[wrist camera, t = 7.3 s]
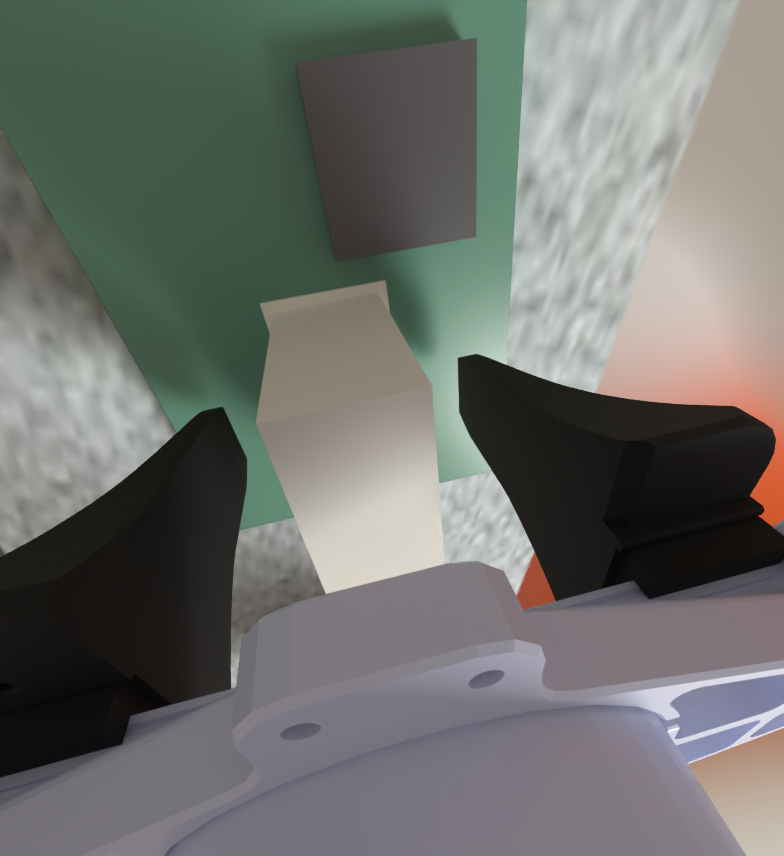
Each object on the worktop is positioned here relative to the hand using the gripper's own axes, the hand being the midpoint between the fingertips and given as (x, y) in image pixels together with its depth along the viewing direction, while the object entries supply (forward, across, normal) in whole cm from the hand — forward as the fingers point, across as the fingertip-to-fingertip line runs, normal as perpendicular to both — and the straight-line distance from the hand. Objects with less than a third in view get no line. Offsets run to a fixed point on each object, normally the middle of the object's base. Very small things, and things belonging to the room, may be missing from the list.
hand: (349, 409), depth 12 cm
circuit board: (+3, 0, -2) cm, 4 cm away
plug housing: (+2, 0, 0) cm, 2 cm away
